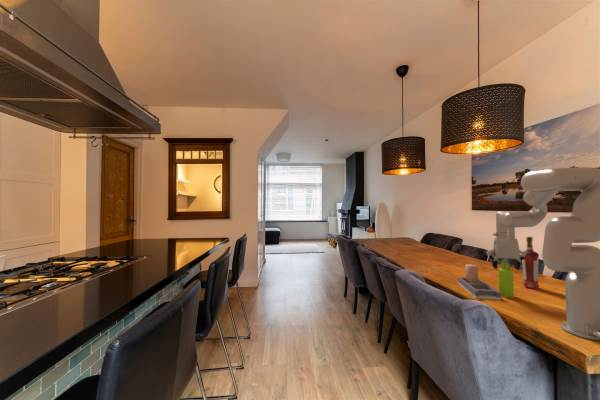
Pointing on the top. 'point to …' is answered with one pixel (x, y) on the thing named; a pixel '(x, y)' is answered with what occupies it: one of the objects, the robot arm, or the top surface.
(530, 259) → the liquor
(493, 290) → the rail
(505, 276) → the soap dispenser
